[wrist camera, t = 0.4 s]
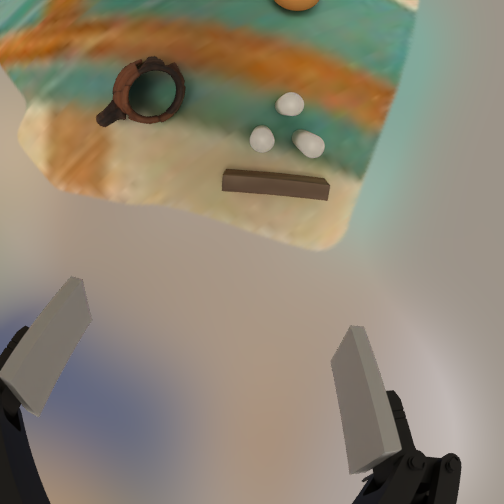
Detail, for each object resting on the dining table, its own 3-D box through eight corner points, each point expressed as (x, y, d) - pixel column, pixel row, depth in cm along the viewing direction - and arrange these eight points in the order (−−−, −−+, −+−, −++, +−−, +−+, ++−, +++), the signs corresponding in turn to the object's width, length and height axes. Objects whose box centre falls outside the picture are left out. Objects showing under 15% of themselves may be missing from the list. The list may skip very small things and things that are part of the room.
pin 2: (292, 128, 32) (302, 133, 25) (311, 130, 32) (325, 136, 25) (290, 146, 34) (299, 156, 26) (309, 148, 34) (322, 159, 26)
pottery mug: (155, 43, 27) (163, 41, 22) (190, 91, 34) (206, 101, 29) (84, 100, 28) (76, 111, 23) (124, 143, 35) (126, 163, 30)
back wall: (226, 169, 35) (222, 175, 32) (324, 178, 35) (330, 185, 32) (225, 183, 36) (222, 190, 33) (322, 192, 36) (327, 200, 33)
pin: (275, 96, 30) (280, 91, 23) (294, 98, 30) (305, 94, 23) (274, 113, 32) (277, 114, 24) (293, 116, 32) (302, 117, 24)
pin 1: (253, 124, 32) (250, 127, 25) (272, 125, 32) (275, 130, 25) (251, 142, 33) (248, 151, 26) (270, 143, 34) (273, 153, 26)
